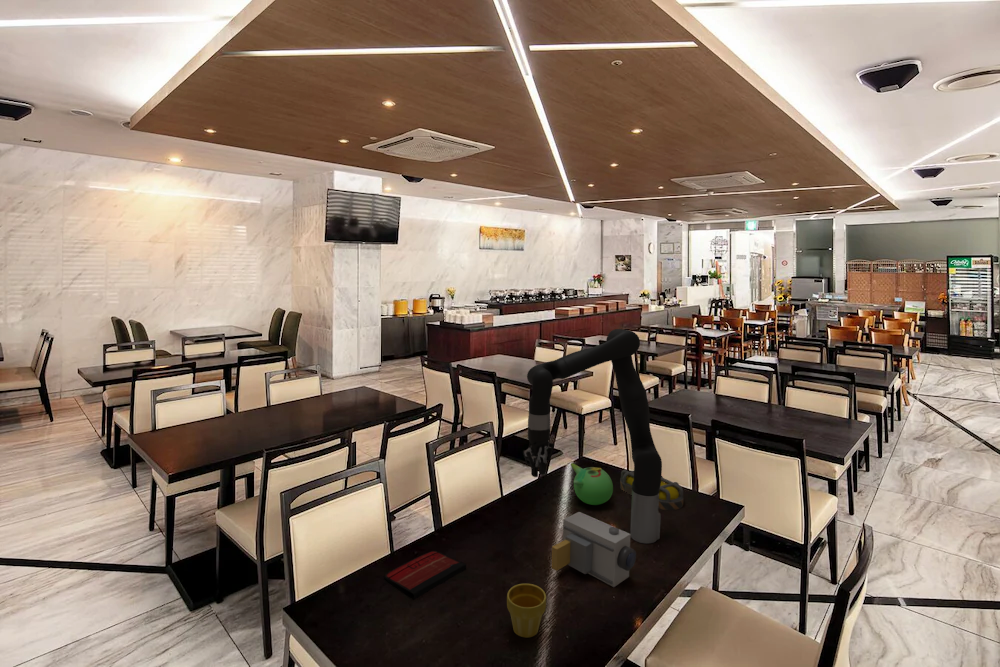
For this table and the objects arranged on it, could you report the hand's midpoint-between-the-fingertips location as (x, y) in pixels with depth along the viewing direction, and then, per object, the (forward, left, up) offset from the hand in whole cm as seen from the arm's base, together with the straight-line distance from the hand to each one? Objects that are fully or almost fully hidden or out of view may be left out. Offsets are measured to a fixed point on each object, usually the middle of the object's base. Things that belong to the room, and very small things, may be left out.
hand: (538, 474), depth 176 cm
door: (-3, +21, -23) cm, 31 cm away
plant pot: (+18, +39, -25) cm, 50 cm away
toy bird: (-33, -25, -25) cm, 49 cm away
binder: (+40, +6, -26) cm, 48 cm away
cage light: (-60, -24, -26) cm, 70 cm away
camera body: (-13, +20, -25) cm, 35 cm away
